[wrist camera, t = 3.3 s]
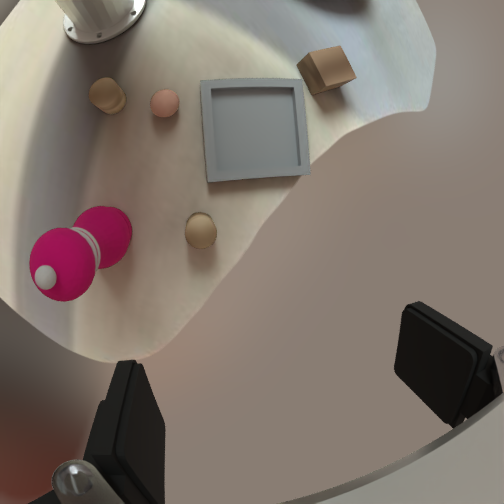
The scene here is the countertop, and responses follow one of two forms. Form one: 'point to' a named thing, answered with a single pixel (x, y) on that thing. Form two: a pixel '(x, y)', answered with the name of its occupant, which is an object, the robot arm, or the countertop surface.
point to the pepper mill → (79, 252)
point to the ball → (164, 103)
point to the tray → (254, 128)
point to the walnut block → (326, 69)
